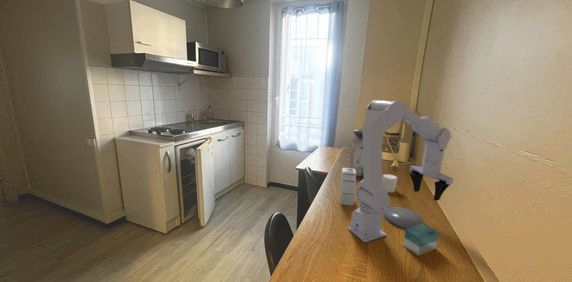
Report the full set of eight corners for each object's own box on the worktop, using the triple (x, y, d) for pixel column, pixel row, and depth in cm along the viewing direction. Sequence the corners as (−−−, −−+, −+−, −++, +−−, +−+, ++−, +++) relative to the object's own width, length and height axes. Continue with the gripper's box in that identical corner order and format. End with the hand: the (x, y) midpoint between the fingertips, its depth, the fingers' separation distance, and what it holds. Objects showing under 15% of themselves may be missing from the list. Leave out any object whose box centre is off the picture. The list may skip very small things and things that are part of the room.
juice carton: (348, 175, 127) (352, 128, 121) (349, 169, 137) (353, 125, 131) (365, 177, 125) (370, 129, 119) (364, 171, 135) (369, 126, 129)
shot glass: (387, 193, 106) (388, 179, 104) (377, 187, 112) (379, 174, 111) (399, 192, 108) (401, 178, 106) (389, 186, 114) (390, 173, 113)
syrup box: (354, 205, 94) (357, 172, 91) (339, 204, 95) (342, 171, 92) (353, 199, 100) (355, 168, 96) (339, 198, 101) (341, 167, 97)
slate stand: (406, 232, 77) (406, 228, 76) (376, 214, 88) (377, 210, 88) (431, 224, 82) (431, 220, 82) (400, 207, 93) (400, 204, 93)
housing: (418, 256, 66) (421, 238, 65) (403, 245, 70) (405, 229, 69) (435, 248, 69) (438, 232, 68) (420, 239, 74) (422, 223, 72)
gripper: (461, 164, 75) (453, 202, 78) (420, 153, 88) (415, 186, 91) (448, 167, 73) (441, 205, 75) (408, 155, 85) (403, 188, 88)
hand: (426, 195), depth 83 cm, fingers open, 7 cm apart
